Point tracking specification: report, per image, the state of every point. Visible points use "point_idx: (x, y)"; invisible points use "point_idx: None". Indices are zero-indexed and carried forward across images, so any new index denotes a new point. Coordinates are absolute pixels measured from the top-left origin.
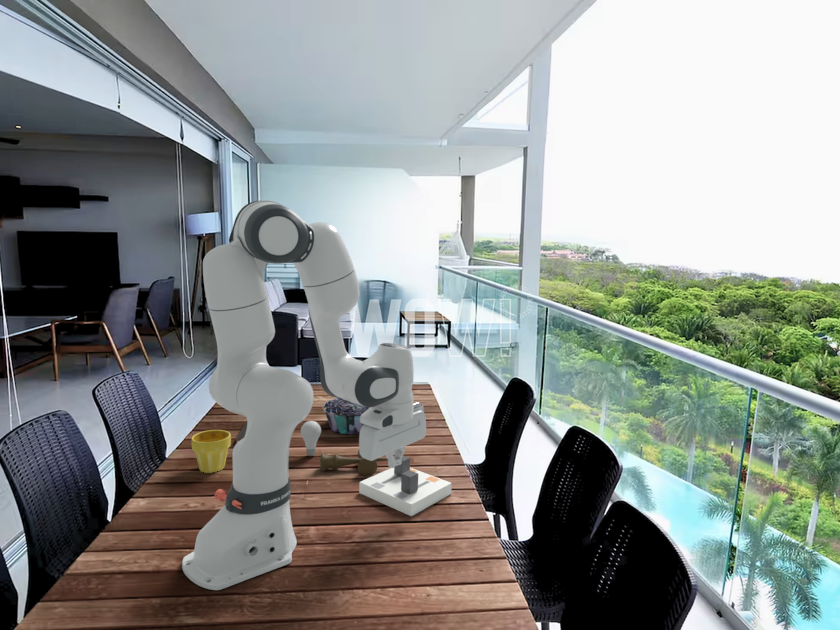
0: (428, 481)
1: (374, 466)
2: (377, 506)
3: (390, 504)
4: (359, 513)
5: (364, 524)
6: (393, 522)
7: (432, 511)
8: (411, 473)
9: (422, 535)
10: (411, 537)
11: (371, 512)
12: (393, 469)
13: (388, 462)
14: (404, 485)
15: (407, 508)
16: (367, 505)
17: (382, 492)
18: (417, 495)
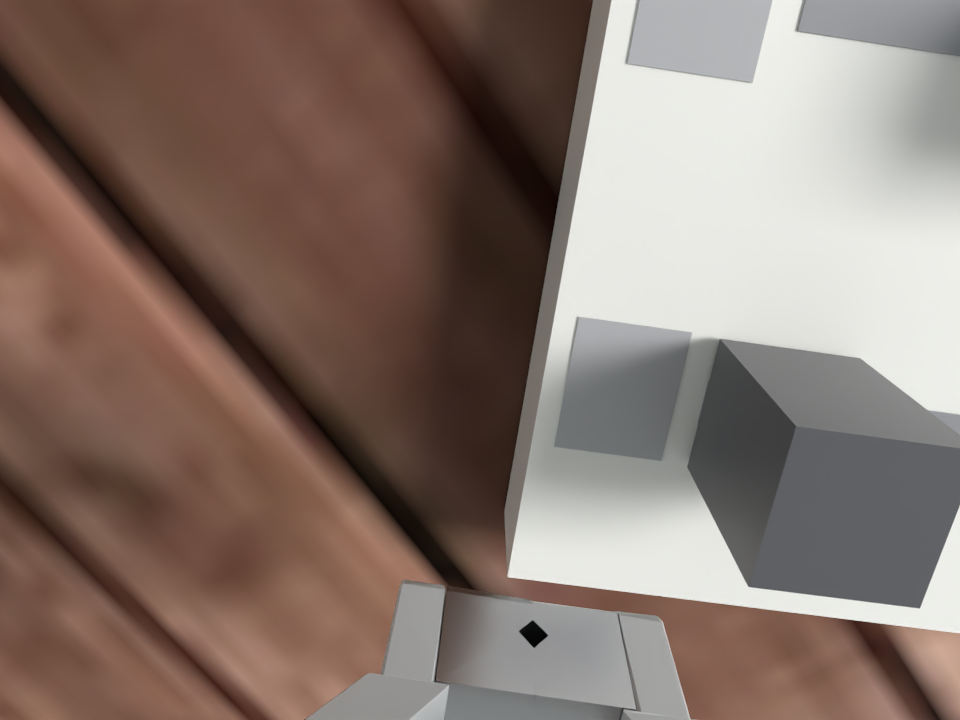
0: None
1: None
2: (484, 141)
3: (550, 269)
4: (249, 73)
5: (127, 254)
6: (327, 444)
7: (681, 602)
8: (876, 535)
9: (312, 705)
10: (237, 661)
11: (345, 168)
12: None
13: (393, 630)
14: (729, 418)
15: (513, 499)
16: (439, 31)
17: (582, 158)
18: (713, 528)
